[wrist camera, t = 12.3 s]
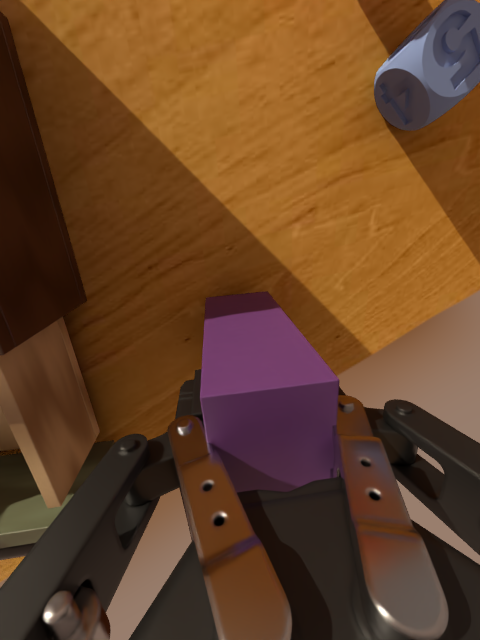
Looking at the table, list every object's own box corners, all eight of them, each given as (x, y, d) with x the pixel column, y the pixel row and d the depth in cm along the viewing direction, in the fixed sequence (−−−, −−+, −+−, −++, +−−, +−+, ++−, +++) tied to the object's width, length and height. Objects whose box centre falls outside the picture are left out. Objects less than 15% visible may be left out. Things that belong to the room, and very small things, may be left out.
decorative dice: (397, 139, 18) (445, 118, 15) (362, 87, 17) (405, 50, 13) (445, 87, 18) (509, 51, 14) (412, 30, 16) (472, -27, 13)
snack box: (214, 371, 21) (219, 529, 10) (205, 297, 19) (199, 397, 8) (270, 365, 21) (332, 511, 11) (267, 291, 19) (340, 379, 9)
